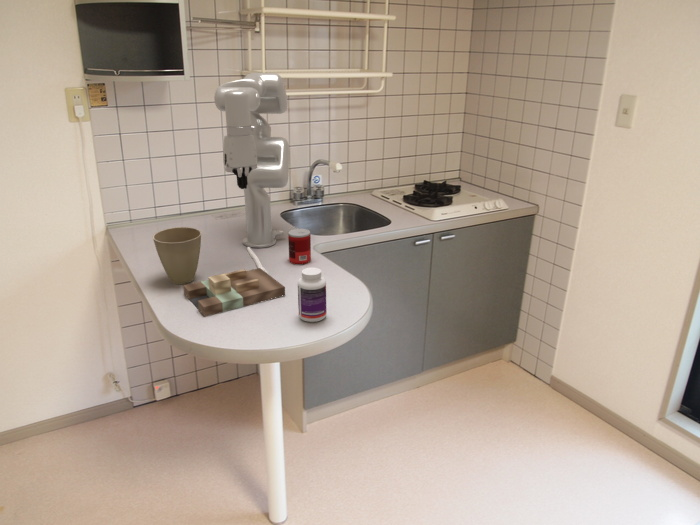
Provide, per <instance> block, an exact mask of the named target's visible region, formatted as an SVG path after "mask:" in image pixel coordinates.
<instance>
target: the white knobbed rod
mask: <svg viewBox="0 0 700 525" xmlns="http://www.w3.org/2000/svg"><path fill="white" fill-rule="evenodd" d="M246 250H247V252H248V254H249V256H250V257H252V258H253V259H252V258H251V259H252V260H253V261H254V264H255V266H256V267H257V269H258V268H260V269H262V270H263V271H264V272H266V273H267V274H268V271H267V270H266V269H265V267H264V266H263V265H262V263H261V261H260V259H259V257H258V256H257V255H256V253H255V252H254V251H253V250H252V247H248V246H246Z"/></svg>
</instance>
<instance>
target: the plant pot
mask: <svg viewBox="0 0 700 525" xmlns="http://www.w3.org/2000/svg"><path fill="white" fill-rule="evenodd" d="M152 240H153V243H154V247H155V250H156V252H157V255H158V258H159V260H160V263H161V265H162V267H163V269H164V271H165V273H166V275H167V277H168V279H169V281H170V282H171V283H173V284H176V285H187V284H190V283H192V282H193V281H194V280H195V277H196V273H197V269H198V265H199V261H200V260H199V259H200V254H201V246H202V244H201V242H202V241H201V240H202V231H201V230H200V229H198V228H195V227H189V226H178V227H176V226H175V227H170V228H165V229H162V230H159V231H157V232H156V233H154V234H153V236H152Z"/></svg>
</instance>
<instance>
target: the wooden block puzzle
mask: <svg viewBox="0 0 700 525" xmlns="http://www.w3.org/2000/svg"><path fill="white" fill-rule="evenodd" d="M224 274H225V275H226V276H227V277H228V278H230V282H231V291H230V292H226V293H221V294H217V295H215V294H214V293H213V292H212V291H211V290H210V289H209V279H205V280H201V281H196V282H190V283H186V284H182V285H183V293H184V295H185V296H186V298H188V300H189V301H190V302H191V303H192V304H193V306H195V307H196V309H197V310H198V311H199V312H200V313H201V314H202V315H203V316H204V317H208V316H211V315H215V314H219V313H224V312H227V311H231V310H234V309H240V308H242V307H247V306H250V305H255V304H258V302H259V303H262V302H261V301H263V302H266V301H265V300H267V301H269V300H268V299H270V300H272V299H271V298H274V299H276V298H275V297H278V298H280V297H279V296H282V295H285V296H286V287H285V286H284V285H283V284H282V283H280V282H279V281H278V280H276V279H275V278H274V277H273V276H272V275H270V274H268V272H267V273H266V272H264V271H263V270H262V269H260V268H258V267H257V268H253V269H250V270H246V269H239V270H236V271H231V272H227V273H224ZM282 297H283V296H282ZM254 303H255V304H254Z"/></svg>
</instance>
